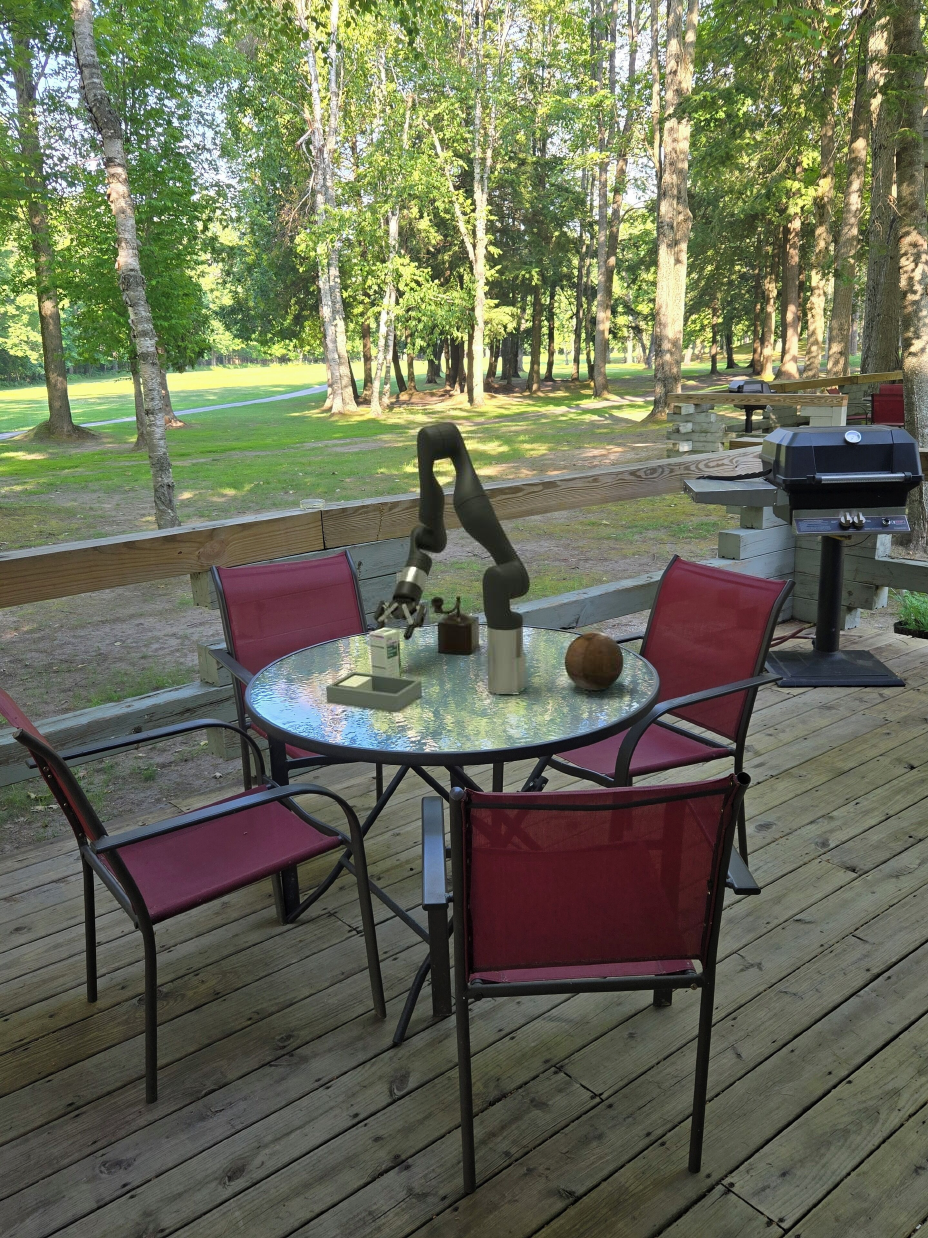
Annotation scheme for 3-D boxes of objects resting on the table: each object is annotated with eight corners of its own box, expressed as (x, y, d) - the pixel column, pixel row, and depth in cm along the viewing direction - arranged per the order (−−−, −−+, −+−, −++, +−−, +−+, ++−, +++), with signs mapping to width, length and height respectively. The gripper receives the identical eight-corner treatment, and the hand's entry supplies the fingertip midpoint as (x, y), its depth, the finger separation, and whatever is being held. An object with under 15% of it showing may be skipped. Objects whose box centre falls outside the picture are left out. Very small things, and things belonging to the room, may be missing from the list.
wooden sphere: (631, 685, 237) (633, 630, 233) (607, 702, 225) (608, 644, 221) (580, 676, 245) (581, 623, 241) (554, 692, 233) (554, 636, 229)
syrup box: (387, 687, 239) (385, 634, 235) (371, 683, 243) (369, 631, 239) (402, 681, 243) (400, 629, 240) (385, 677, 247) (383, 626, 243)
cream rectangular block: (372, 692, 232) (371, 677, 231) (356, 702, 225) (355, 686, 224) (355, 690, 234) (355, 675, 233) (339, 699, 227) (338, 684, 226)
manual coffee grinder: (445, 643, 279) (444, 586, 274) (480, 645, 276) (479, 588, 271) (429, 658, 264) (428, 598, 260) (466, 660, 261) (465, 600, 257)
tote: (422, 699, 229) (421, 680, 228) (397, 716, 218) (396, 696, 217) (354, 689, 238) (353, 671, 236) (327, 705, 226) (326, 686, 225)
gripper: (383, 577, 251) (363, 627, 243) (428, 581, 245) (410, 632, 238) (393, 592, 257) (374, 641, 249) (438, 596, 251) (420, 646, 244)
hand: (391, 637), depth 243 cm, fingers open, 8 cm apart
